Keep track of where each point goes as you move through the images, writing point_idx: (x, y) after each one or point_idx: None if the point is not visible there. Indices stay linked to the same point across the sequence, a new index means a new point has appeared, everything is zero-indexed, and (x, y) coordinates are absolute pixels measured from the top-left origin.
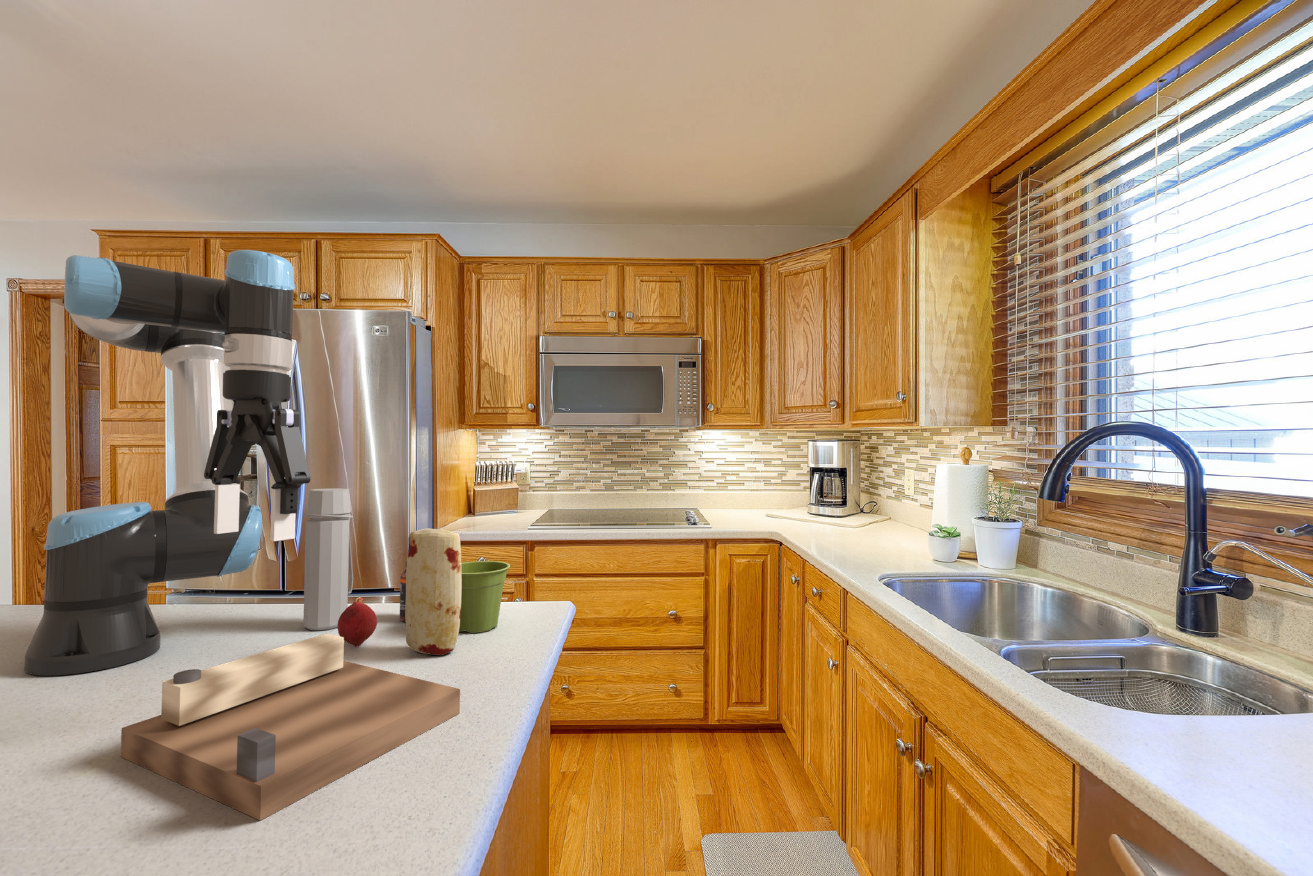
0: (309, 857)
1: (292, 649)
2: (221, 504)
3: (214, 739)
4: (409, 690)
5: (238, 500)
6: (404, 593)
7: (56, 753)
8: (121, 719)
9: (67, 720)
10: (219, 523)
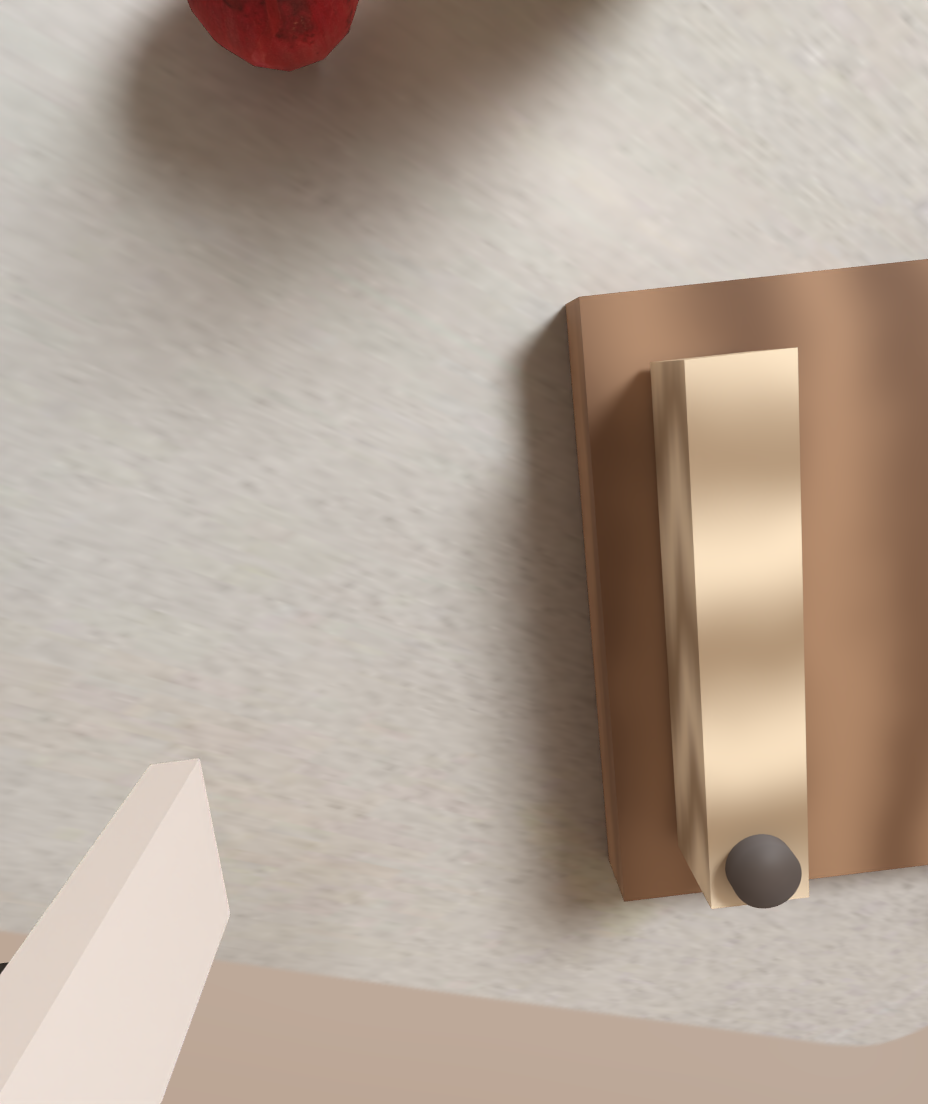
0: None
1: (762, 548)
2: (139, 1102)
3: (895, 804)
4: None
5: (91, 961)
6: None
7: (461, 929)
8: (359, 796)
9: (250, 872)
10: (202, 958)
